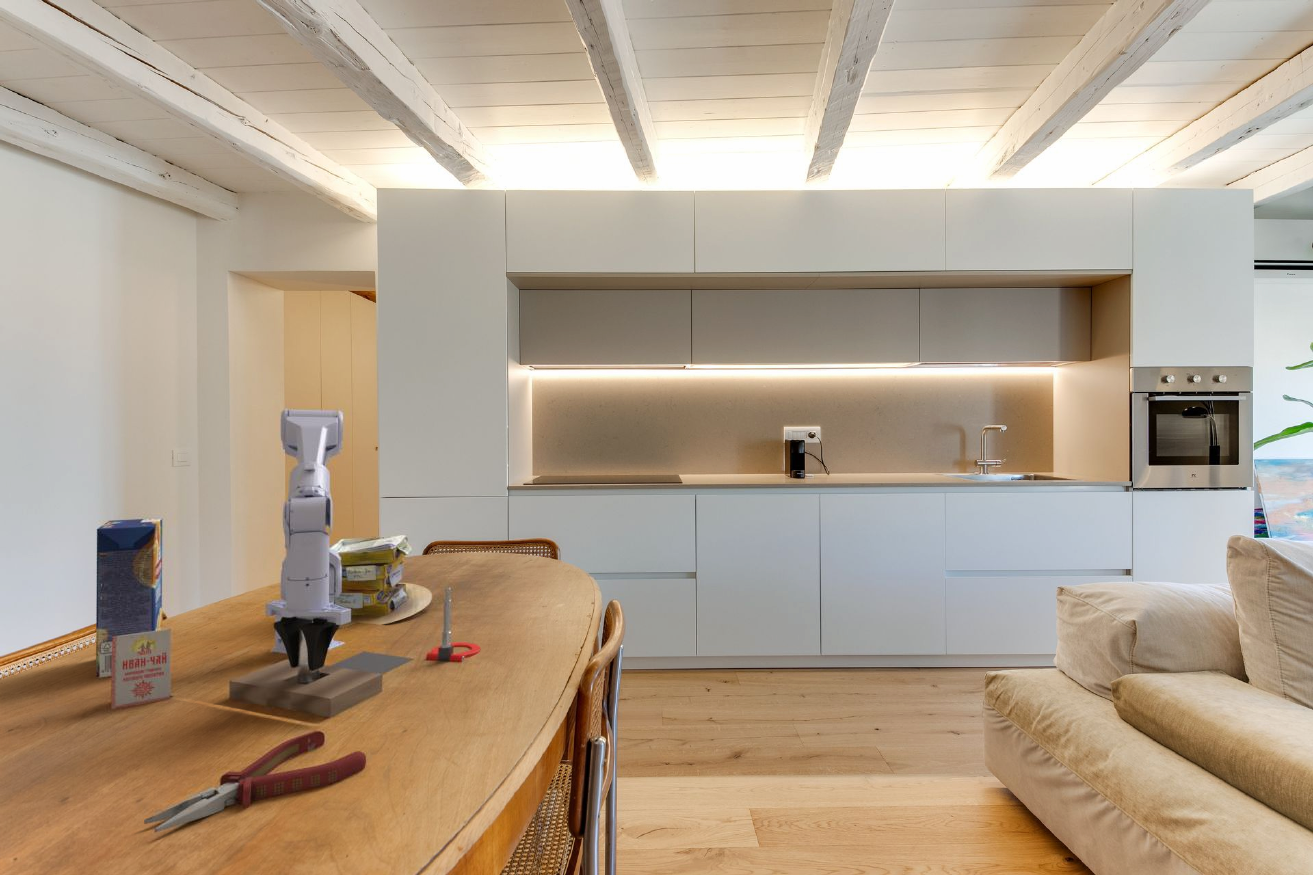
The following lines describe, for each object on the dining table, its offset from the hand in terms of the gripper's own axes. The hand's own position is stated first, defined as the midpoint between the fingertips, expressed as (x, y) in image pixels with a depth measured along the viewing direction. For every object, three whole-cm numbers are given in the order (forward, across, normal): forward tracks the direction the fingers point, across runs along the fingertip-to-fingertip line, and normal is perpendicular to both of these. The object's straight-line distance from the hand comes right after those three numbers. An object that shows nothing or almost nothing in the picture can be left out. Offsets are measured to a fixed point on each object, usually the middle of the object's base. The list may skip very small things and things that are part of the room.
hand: (307, 666), depth 99 cm
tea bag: (+5, -22, -9) cm, 24 cm away
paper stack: (+5, -25, +41) cm, 49 cm away
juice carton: (+5, -40, +1) cm, 40 cm away
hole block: (+5, 0, 0) cm, 5 cm away
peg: (+3, 0, 0) cm, 3 cm away
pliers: (+5, +15, -20) cm, 25 cm away
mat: (+5, -1, +13) cm, 14 cm away
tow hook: (+5, +9, +24) cm, 26 cm away
